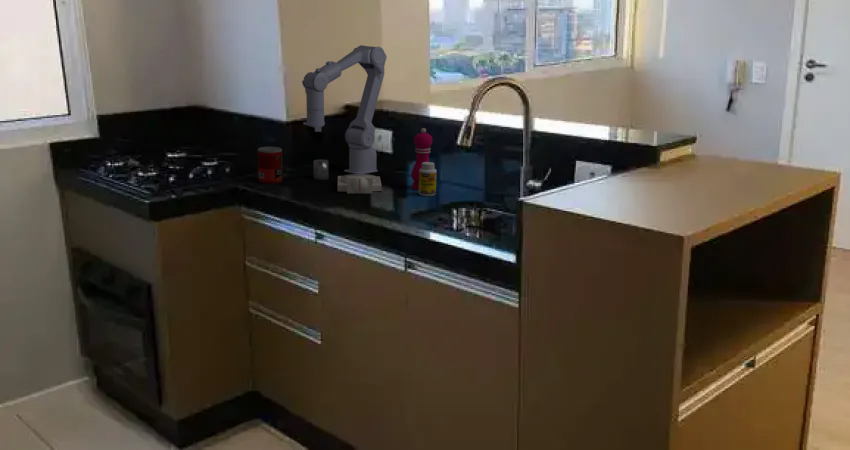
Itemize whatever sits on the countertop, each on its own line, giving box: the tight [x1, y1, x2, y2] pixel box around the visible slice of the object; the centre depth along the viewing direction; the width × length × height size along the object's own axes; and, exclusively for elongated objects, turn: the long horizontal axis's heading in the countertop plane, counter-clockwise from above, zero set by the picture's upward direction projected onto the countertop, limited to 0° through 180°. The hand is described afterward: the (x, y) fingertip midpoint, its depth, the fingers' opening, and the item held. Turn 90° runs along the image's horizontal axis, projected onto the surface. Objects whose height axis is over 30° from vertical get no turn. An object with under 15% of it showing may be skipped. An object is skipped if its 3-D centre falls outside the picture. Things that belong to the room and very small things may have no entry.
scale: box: [337, 173, 383, 194], centre depth 266 cm, size 17×14×5 cm
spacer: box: [313, 159, 329, 181], centre depth 278 cm, size 5×5×6 cm
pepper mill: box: [410, 127, 433, 191], centre depth 265 cm, size 7×7×20 cm
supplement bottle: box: [418, 161, 438, 197], centre depth 259 cm, size 6×6×10 cm
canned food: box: [257, 146, 283, 185], centre depth 270 cm, size 8×8×11 cm
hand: (315, 149), depth 274 cm, fingers open, 7 cm apart
